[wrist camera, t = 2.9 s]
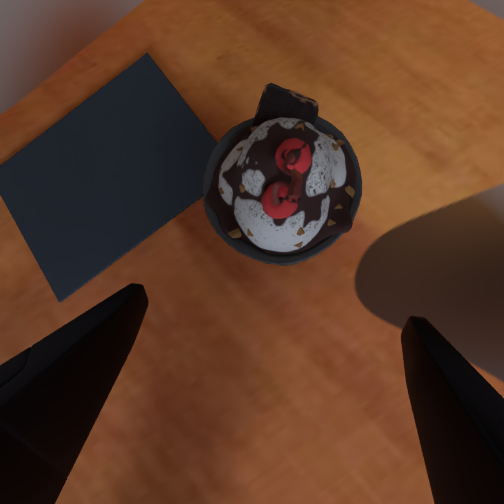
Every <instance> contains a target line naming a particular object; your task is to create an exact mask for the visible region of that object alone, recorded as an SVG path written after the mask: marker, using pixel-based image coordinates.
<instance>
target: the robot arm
mask: <svg viewBox="0 0 504 504" xmlns="http://www.w3.org/2000/svg"><path fill="white" fill-rule="evenodd" d="M147 307H148V297H147V295H146V292H145V289H144V286H143V285H141V284H134V283H132V284H129V285H127V286H126V287H124V288H123V289H121V290H119V291H118V292H116V293H115V294H113V295H112V296H110V297H108V298H107V299H105V300H104V301H102V302H100V303H99V304H97V305H96V306H94V307H93V308H91V309H89V310H88V311H86V312H85V313H83V314H81V315H80V316H78V317H77V318H75V319H74V320H72V321H70V322H69V323H67V324H66V325H64V326H62V327H61V328H59V329H58V330H56V331H55V332H53V333H51V334H50V335H48V336H47V337H45V338H43V339H42V340H40V341H39V342H37V343H35V344H34V345H32V347H29V348H27V349H26V350H24V351H23V352H21V353H20V354H18V355H16V356H15V357H13V358H11V359H10V360H8V361H6V362H5V363H3V364H2V365H0V504H55V502H56V500H57V498H58V496H59V494H60V492H61V490H62V488H63V486H64V484H65V482H66V480H67V477H68V476H69V474H70V472H71V470H72V468H73V466H74V464H75V462H76V460H77V458H78V456H79V454H80V452H81V449H82V447H83V445H84V443H85V441H86V439H87V437H88V435H89V433H90V431H91V429H92V427H93V425H94V423H95V421H96V419H97V417H98V415H99V413H100V411H101V409H102V407H103V405H104V403H105V401H106V399H107V397H108V395H109V393H110V391H111V389H112V387H113V385H114V383H115V381H116V379H117V377H118V375H119V373H120V371H121V369H122V367H123V365H124V363H125V361H126V359H127V357H128V355H129V353H130V351H131V349H132V347H133V345H134V342H135V340H136V337H137V334H138V332H139V329H140V326H141V324H142V321H143V318H144V316H145V313H146V310H147ZM401 343H402V352H403V360H404V369H405V377H406V385H407V389H408V394H409V398H410V402H411V407H412V411H413V415H414V419H415V423H416V428H417V432H418V436H419V440H420V444H421V449H422V453H423V457H424V461H425V465H426V470H427V474H428V478H429V482H430V486H431V491H432V495H433V499H434V503H435V504H504V398H503V397H502V396H501V395H500V394H499V393H498V392H497V391H496V390H495V389H494V388H493V387H492V386H491V385H490V384H489V383H488V382H487V381H486V380H485V379H484V378H483V377H482V376H481V375H480V374H479V373H478V372H477V370H476V369H475V368H474V367H473V366H472V365H471V364H470V363H469V362H468V361H467V360H466V359H465V358H464V357H463V356H462V355H461V354H460V353H459V352H458V351H457V350H456V349H455V348H454V347H453V346H452V345H451V344H450V343H449V342H448V341H447V340H446V339H445V338H444V337H443V336H442V335H441V334H440V332H438V330H437V329H436V328H435V327H434V326H433V325H432V324H431V323H430V322H429V321H428V320H427V319H425V318H424V317H419V316H410V317H409V318H408V320H407V322H406V324H405V326H404V328H403V330H402V333H401Z"/></svg>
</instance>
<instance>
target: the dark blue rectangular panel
mask: <svg viewBox="0 0 504 504" xmlns="http://www.w3.org/2000/svg"><path fill="white" fill-rule="evenodd" d="M216 145H217V142H216V141H215V140H214V138H213V137H212V136H211V134H210V133H209V132H208V131H207V129H206V128H205V127H204V125H203V124H202V123H201V122H200V120H199V119H198V118H197V116H196V115H195V114H194V113H193V111H192V110H191V109H190V107H189V106H188V105H187V103H186V102H185V101H184V100H183V98H182V97H181V96H180V94H179V93H178V92H177V91H176V89H175V88H174V87H173V85H172V84H171V83H170V81H169V80H168V79H167V78H166V76H165V75H164V74H163V72H162V71H161V70H160V69H159V67H158V66H157V65H156V63H155V62H154V61H153V59H152V58H151V57H150V56H149V54H148V53H146V54H145V55H144V56H142V57H141V58H140V59H139V60H137V61H136V62H135V63H133V64H132V65H131V66H129V67H128V68H127V69H126V70H124V71H123V72H122V73H120V74H119V75H118V76H117V77H115V78H114V79H113V80H111V81H110V82H109V83H107V84H106V85H105V86H104V87H102V88H101V89H100V90H98V91H97V92H96V93H94V94H93V95H92V96H91V97H89V98H88V99H87V100H85V101H84V102H83V103H81V104H80V105H79V106H78V107H76V108H75V109H74V110H72V111H71V112H70V113H68V114H67V115H66V116H65V117H63V118H62V119H61V120H59V121H58V122H57V123H55V124H54V125H53V126H52V127H50V128H49V129H48V130H46V131H45V132H44V133H42V134H41V135H40V136H39V137H37V138H36V139H35V140H33V141H32V142H31V143H29V144H28V145H27V146H26V147H24V148H23V149H22V150H20V151H19V152H18V153H17V154H15V155H14V156H13V157H11V158H10V159H9V160H7V161H6V162H5V163H4V164H2V165H1V166H0V195H1V197H2V198H3V200H4V202H5V204H6V206H7V208H8V209H9V211H10V213H11V215H12V217H13V219H14V220H15V222H16V224H17V226H18V228H19V229H20V231H21V233H22V235H23V237H24V239H25V240H26V242H27V244H28V246H29V248H30V250H31V251H32V253H33V255H34V257H35V259H36V261H37V262H38V264H39V266H40V268H41V270H42V271H43V273H44V275H45V277H46V279H47V281H48V282H49V284H50V286H51V288H52V290H53V292H54V293H55V295H56V297H57V299H58V301H59V302H62V301H63V300H64V299H66V298H67V297H68V296H70V295H71V294H72V293H74V292H75V291H76V290H78V289H79V288H80V287H82V286H83V285H84V284H86V283H87V282H88V281H90V280H91V279H92V278H94V277H95V276H96V275H98V274H99V273H100V272H102V271H103V270H104V269H106V268H107V267H108V266H110V265H111V264H112V263H114V262H115V261H116V260H118V259H119V258H120V257H122V256H123V255H124V254H126V253H127V252H128V251H130V250H131V249H132V248H134V247H135V246H136V245H138V244H139V243H140V242H142V241H143V240H144V239H146V238H147V237H148V236H150V235H151V234H152V233H154V232H155V231H156V230H158V229H159V228H160V227H162V226H163V225H164V224H166V223H167V222H168V221H170V220H171V219H172V218H174V217H175V216H176V215H178V214H179V213H180V212H182V211H183V210H184V209H186V208H187V207H188V206H190V205H191V204H192V203H194V202H195V201H196V200H198V199H199V198H200V197H202V196H203V181H204V174H205V170H206V166H207V163H208V160H209V158H210V155H211V153H212V150H213V149H214V148H215V146H216Z"/></svg>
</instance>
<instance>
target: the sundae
mask: <svg viewBox="0 0 504 504" xmlns="http://www.w3.org/2000/svg"><path fill="white" fill-rule="evenodd" d="M361 196H362V179H361V171H360V167H359V163H358V159H357V157H356V155H355V153H354V151H353V149H352V147H351V145H350V143H349V142H348V140H347V139H346V137H345V136H344V135H343V133H342V132H341V131H339V130H338V129H337V128H336V127H335V126H333V125H332V124H331V123H329V122H328V121H326V120H324V119H322V118H320V117H319V116H318V103H317V102H316V101H315V100H313V99H310V98H308V97H306V96H304V95H302V94H300V93H297V92H295V91H292V90H288V89H284V88H282V87H280V86H278V85H276V84H273V83H270V84H267V85H265V88H264V91H263V93H262V96H261V99H260V102H259V105H258V107H257V111H256V114H255V117H254V118H252V119H249V120H246V121H244V122H242V123H240V124H239V125H237V126H235V127H233V128H231V129H230V130H229V131H228V132H227V133H226V134H225V135H224V136H223V137H222V138H221V139H220V141H219V142H218V144H217V145H216V146H215V148H214V149H213V150H212V153H211V155H210V158H209V160H208V163H207V166H206V170H205V174H204V181H203V201H204V206H205V212H206V214H207V216H208V219H209V221H210V223H211V224H212V226H213V228H214V229H215V231H216V233H217V234H218V235H219V236H220V237H221V238H222V239H223V240H224V241H225V242H226V243H227V244H228V245H230V246H231V247H232V248H234V249H235V250H236V251H238V252H239V253H241V254H243V255H245V256H248V257H250V258H252V259H255V260H258V261H261V262H264V263H268V264H277V265H293V264H296V263H298V262H301V261H305V260H307V259H309V258H311V257H313V256H315V255H317V254H319V253H320V252H322V251H323V250H325V249H326V248H328V247H330V246H331V245H332V244H333V243H334V242H335V241H336V240H337V239H338V238H339V237H340V236H341V235H342V234H344V233H346V232H348V231H349V230H350V229H351V227H352V224H353V222H352V221H353V220H354V217H355V215H356V212H357V210H358V207H359V204H360V200H361Z"/></svg>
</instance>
